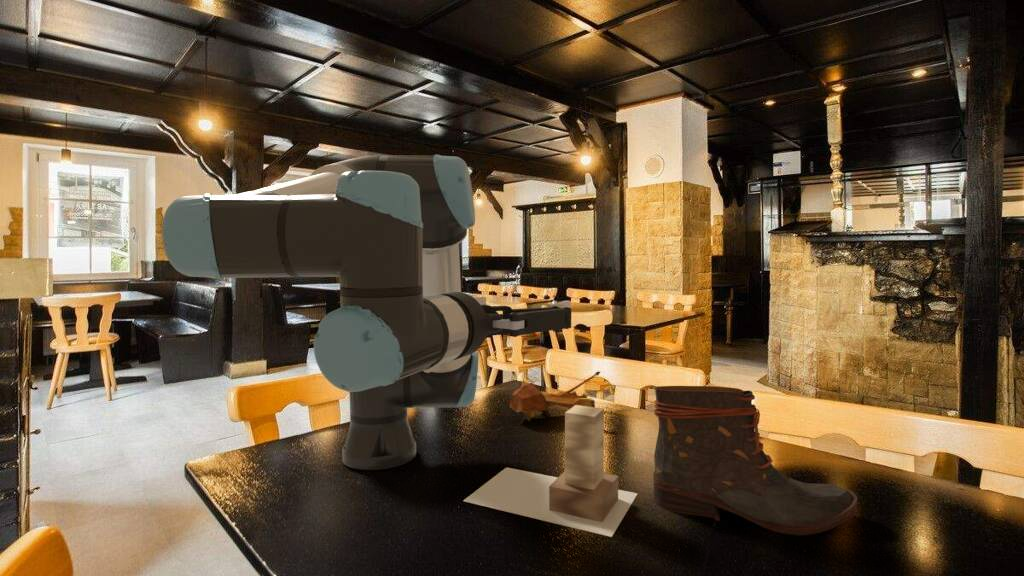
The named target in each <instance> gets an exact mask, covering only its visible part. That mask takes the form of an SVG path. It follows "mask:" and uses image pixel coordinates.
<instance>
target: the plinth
mask: <svg viewBox="0 0 1024 576" xmlns="http://www.w3.org/2000/svg"><path fill="white" fill-rule="evenodd" d="M618 490H619V475H615V474H610V473H605V472H603V480H602V481H601V482H600V483H599V485H598V486H597V487H596V488H595V490H591V489H587V488H582V487H577V486H572V485H567V484H565V470H564V471H562V473H561V474H560V475H559V476H558V477H557V479H556V480H555V481H554V482H553V483H552V484H551V485H550V486H549V510H551V511H555V512H560V513H564V514H568V515H573V516H577V517H581V518H586V519H590V520H594V521H599V522H603V521H604V519H605V518H606V516H607V515H608V513H609V512H610V510H611V509H612V507H613V506H614V504H615V503H616V501H617V500H618Z"/></svg>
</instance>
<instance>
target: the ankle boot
mask: <svg viewBox="0 0 1024 576" xmlns="http://www.w3.org/2000/svg"><path fill="white" fill-rule="evenodd" d="M654 390H655V400H654V403H655V404H654V406H653V407H655V409H654V410H653V412H654V413H653V414H654V415H655V417H658V418H657V419H658V432H657V439H656V443H655V449H654V454H653V455H654V457H653V459H654V461H653V462H654V471H653V478H652V479H653V499H652V500H653V503H654V504H655V505H656V506H657V507H658V508H660V509H663V510H667V511H668V512H673V513H677V514H684V515H691V516H699V517H700V516H701V517H707V518H714V521H718V522H719V521H721V520H720V519H721V518H720V510H719V509H722V510H725V511H727V512H730V513H732V514H734V515H736V516H739V517H741V518H743V519H745V520H747V521H748V522H751V523H753V524H756V525H757V526H759V527H761V528H764V529H766V530H769V531H772V532H775V533H780V534H786V535H794V536H810V535H811V536H812V535H815V534H819V533H823V532H826V531H829V530H832V529H834V528H836V527H838V526H839V525H841V524H842V523H844V522H846V521H848V520H849V519H851V518H853V517H854V515H855V514H856V512H857V510H858V497H857V495H856V493H854V492H853V491H852V490H850V489H847V488H844V487H841V486H838V485H837V484H834V483H815V482H814V483H811V482H810V483H807V482H804V481H803V482H802V481H799V480H796V479H793V478H789V477H788V476H786V475H785V474H784V473H783V472H781V471H780V470H778V469H777V468H776V467H775V466H773V462H774V461H773V458H772V457H771V456H770V455H769V454H767V453H765V452H764V443H762V442H761V441H760V438H759V437H760V435H761V434H760V433H759V427H758V426H759V423H760V417H761V416H760V415H761V412H760V410H759V409H757V408H756V405H755V404H754V403H752V401H753V400H754V401H755V399H756V395H754V394H753V391H752V390H743V389H741V388H738V387H737V388H735V387H730V386H729V387H728V386H714V385H711V386H710V385H661V386H655V387H654Z"/></svg>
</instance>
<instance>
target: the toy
mask: <svg viewBox="0 0 1024 576" xmlns="http://www.w3.org/2000/svg"><path fill="white" fill-rule="evenodd" d="M600 374H601V371H596V372H595V373H594V374H593V375H592V376H590V377H589V378H587V379H585V380H584V381H582V382H580V383H579V384H577V385H576V386H574V387H572V388H570V389H569V390H567V391H559V392H558V393H555V394H554V393H550V392H546V391H543V390H542V391H541V390H539V388H537V387H536V385H535V384H533V383H530V382H529V379H522V382H521V386H520V387H519V388H517V389H515V390H514V392H513V393H512V394H511V397H510V402H509V408H510V409H512V410H513V412H515V413H520V412H522V413H523V414H524V415H523V416H524V417H525V418H526V419H527V422H531V421H532V418H534V417H535V416H540V415H541V414H543V411H548V410H549V409H553V408H556V407H558V406H560V407H564V408H567V409H571V408H572V407H574V406H575V405H580V406H587V407H595V408H596V404H595V402H596V401H595V399H593V398H591V397H588V396H587V395H586V393H583V394H581V395H578V394H577V392H576V391H575V390H576V389H578V388H579V387H581V386H582V385H584V384H585V383H587V382H588V381H590V380H592V379H594V377H596V376H599V375H600Z"/></svg>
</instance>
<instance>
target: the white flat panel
mask: <svg viewBox="0 0 1024 576" xmlns="http://www.w3.org/2000/svg"><path fill="white" fill-rule="evenodd" d="M557 478H558V477H557V476H551V475H546V474H541V473H538V472H532V471H527V470H521V469H516V468H512V467H511V468H510V467H505V468H503V470H501V471H500V472H498V473H497V474H496V475H494V476H493V477H492V478H491V479H489V480H488V481H487V482H485V483H484V484H483V485H481V486H480V487H479V488H478V489H476V490H475V491H474V492H473V493H471V494H470V495H469V496H467V497H466V498H465V499H464V500H462V501H463V502H465V503H470V504H473V505H476V506H477V505H478V506H482V507H487V508H490V509H493V510H497V511H503V512H507V513H510V514H514V515H519V516H523V517H528V518H531V519H536V520H540V521H543V522H547V523H552V524H556V525H560V526H564V527H569V528H572V529H578V530H580V531H584V532H588V533H589V532H590V533H594V534H596V535H597V534H599V535H602V536H605V537H610V538H612V537H613V535H614V534H615V533H616V531H617V529H618V527H619V525H620V524H621V522H622V520H623V519H624V517H625V516H626V514H627V512H628V511H629V509H630V507H631V506H632V504H633V503H634V501H635V500H636V497H637V495H638V494H639V493H637V492H632V491H627V490H622V489H618V500H617V501H616V503H615V504H614V506H613V507H612V509H611V510H610V512H609V513H608V515H607V516H606V518H605V519H604V521H603V522H599V521H594V520H590V519H586V518H581V517H577V516H573V515H568V514H564V513H560V512H555V511H551V510H549V486H550V485H551V484H552V483H553V482H554V481H555V480H556V479H557Z"/></svg>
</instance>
